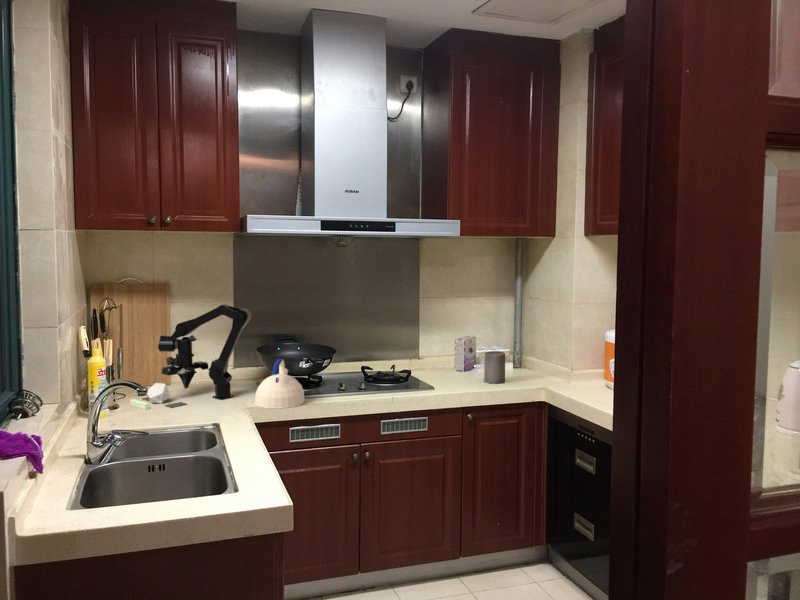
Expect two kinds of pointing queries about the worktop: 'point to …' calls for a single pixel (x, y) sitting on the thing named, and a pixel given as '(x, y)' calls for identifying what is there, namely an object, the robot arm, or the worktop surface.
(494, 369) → the pillar candle
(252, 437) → the worktop surface
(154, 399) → the die
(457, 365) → the candy box
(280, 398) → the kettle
